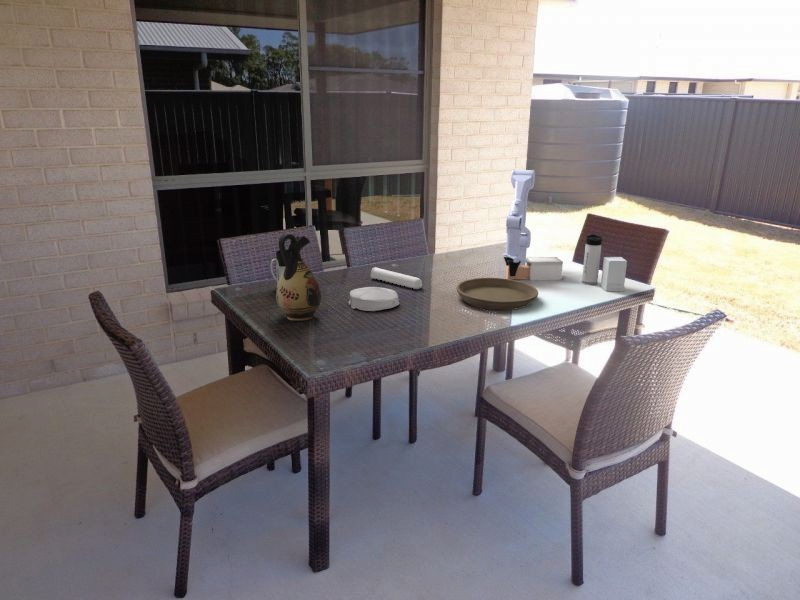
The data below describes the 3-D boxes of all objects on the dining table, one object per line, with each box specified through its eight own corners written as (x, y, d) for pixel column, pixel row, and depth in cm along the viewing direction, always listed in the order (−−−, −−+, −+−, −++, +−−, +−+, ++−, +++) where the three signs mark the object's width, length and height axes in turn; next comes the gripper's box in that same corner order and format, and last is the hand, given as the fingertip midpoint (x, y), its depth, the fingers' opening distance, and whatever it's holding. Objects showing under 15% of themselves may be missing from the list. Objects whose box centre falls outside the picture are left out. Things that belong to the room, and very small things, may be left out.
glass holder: (302, 286, 247) (300, 250, 243) (282, 295, 235) (279, 258, 230) (284, 283, 251) (282, 248, 246) (263, 292, 238) (261, 255, 234)
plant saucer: (553, 300, 232) (554, 289, 231) (503, 318, 212) (504, 306, 211) (490, 283, 254) (490, 272, 252) (439, 298, 234) (439, 287, 232)
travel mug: (595, 280, 258) (600, 234, 251) (598, 285, 251) (604, 237, 245) (580, 280, 258) (585, 234, 252) (583, 284, 252) (588, 237, 246)
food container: (341, 299, 233) (340, 282, 231) (390, 293, 239) (389, 277, 237) (356, 316, 215) (356, 298, 213) (408, 309, 222) (408, 291, 220)
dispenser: (522, 275, 266) (523, 257, 263) (555, 274, 267) (556, 257, 264) (527, 280, 258) (528, 262, 255) (561, 279, 259) (563, 261, 256)
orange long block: (505, 276, 263) (506, 265, 261) (541, 276, 264) (542, 265, 262) (507, 279, 259) (508, 267, 258) (544, 278, 260) (545, 267, 259)
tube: (425, 278, 245) (379, 267, 261) (418, 277, 241) (371, 266, 256) (422, 291, 246) (377, 279, 261) (415, 290, 241) (369, 278, 257)
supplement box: (624, 291, 243) (627, 261, 239) (605, 291, 243) (608, 260, 239) (618, 286, 250) (621, 256, 246) (600, 286, 250) (603, 256, 246)
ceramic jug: (301, 307, 222) (297, 226, 213) (331, 316, 213) (328, 232, 204) (264, 319, 210) (258, 233, 200) (294, 329, 200) (289, 240, 191)
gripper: (500, 240, 263) (498, 270, 267) (507, 247, 249) (505, 279, 254) (516, 240, 264) (514, 270, 268) (524, 247, 250) (522, 279, 254)
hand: (511, 274), depth 261 cm, fingers closed on orange long block, 4 cm apart
